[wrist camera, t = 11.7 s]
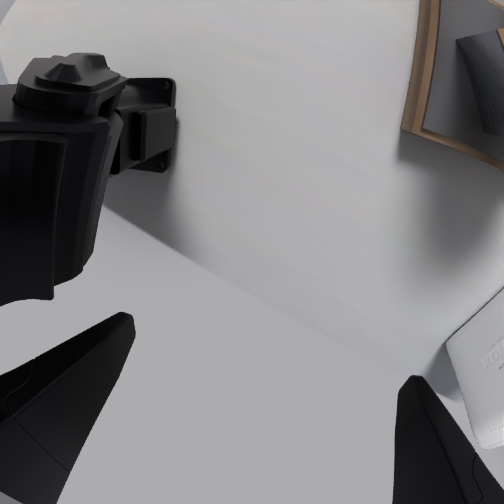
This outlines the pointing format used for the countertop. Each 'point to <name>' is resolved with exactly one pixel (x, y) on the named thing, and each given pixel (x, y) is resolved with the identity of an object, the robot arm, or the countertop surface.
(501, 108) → the tan and grey block
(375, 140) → the countertop surface
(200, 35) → the countertop surface
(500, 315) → the photo printer
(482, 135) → the walnut stand
